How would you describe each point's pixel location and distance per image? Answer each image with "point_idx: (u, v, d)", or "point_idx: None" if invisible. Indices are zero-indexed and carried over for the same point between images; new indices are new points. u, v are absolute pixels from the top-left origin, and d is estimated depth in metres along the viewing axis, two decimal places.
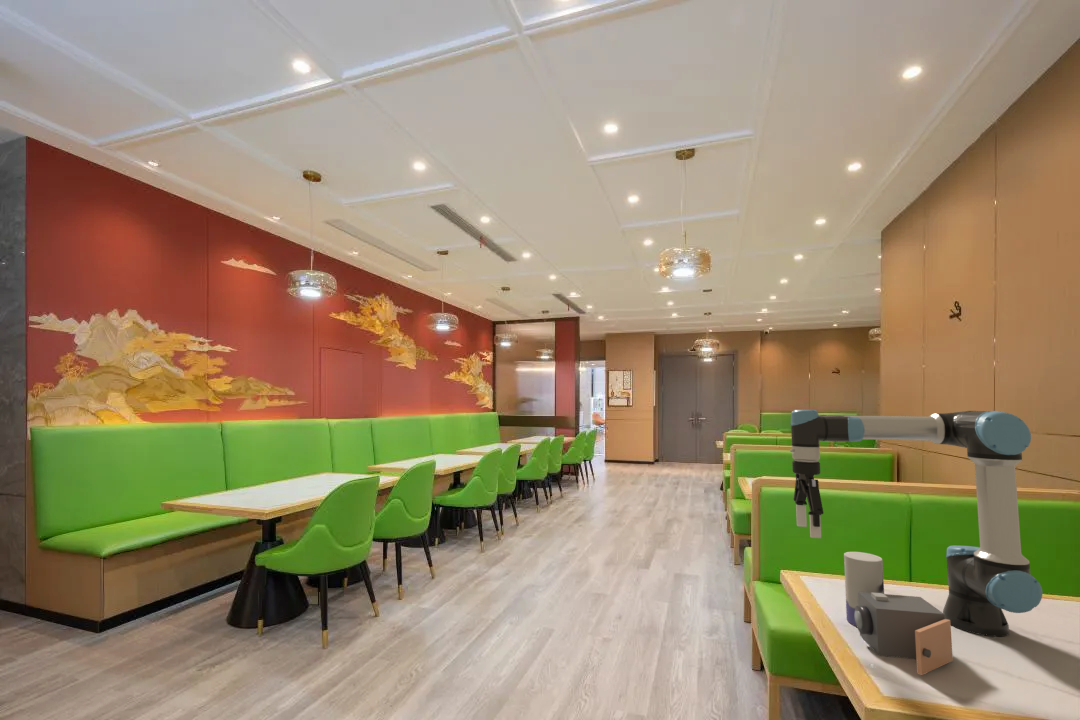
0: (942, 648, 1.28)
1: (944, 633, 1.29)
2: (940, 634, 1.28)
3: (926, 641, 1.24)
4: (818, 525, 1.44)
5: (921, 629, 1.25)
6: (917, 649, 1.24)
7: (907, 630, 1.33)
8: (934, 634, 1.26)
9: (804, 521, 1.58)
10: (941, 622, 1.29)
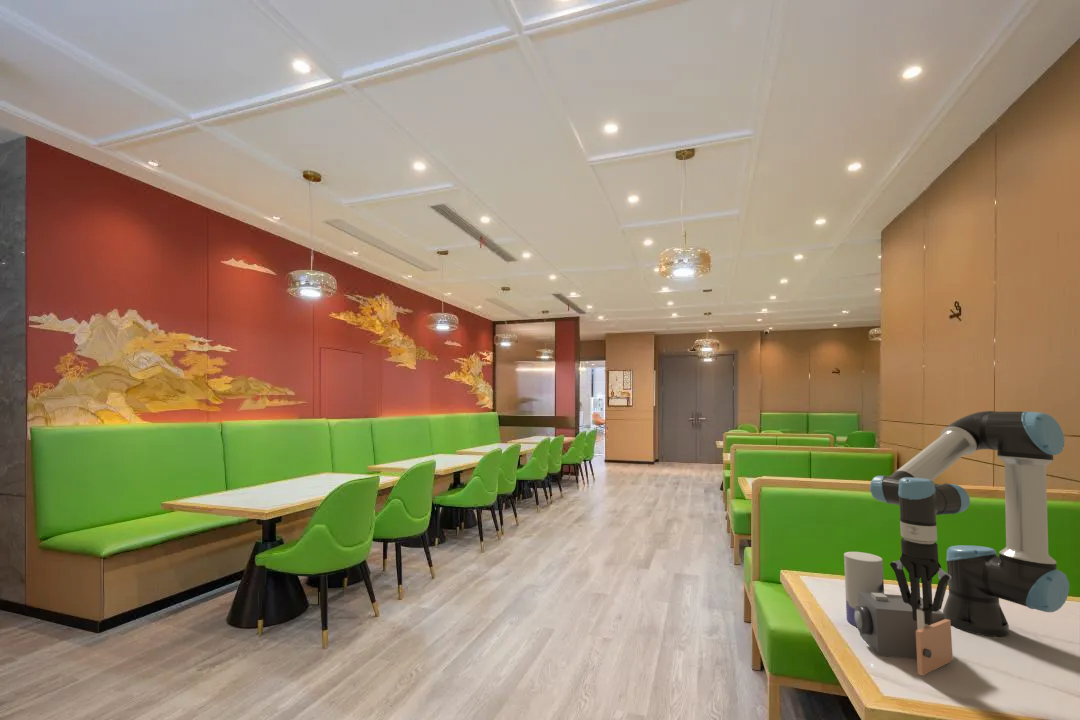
0: (942, 648, 1.28)
1: (944, 633, 1.29)
2: (940, 634, 1.28)
3: (927, 641, 1.24)
4: (931, 622, 1.26)
5: (922, 629, 1.25)
6: (918, 649, 1.23)
7: (907, 630, 1.33)
8: (934, 634, 1.26)
9: None
10: (941, 622, 1.29)
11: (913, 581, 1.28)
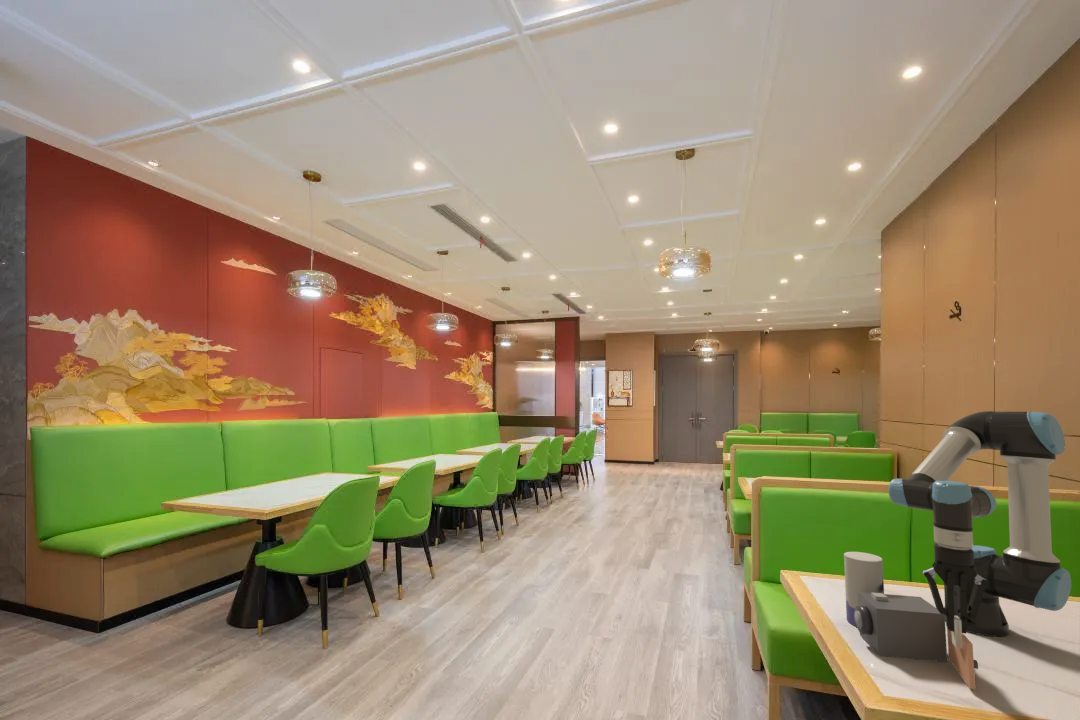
0: None
1: None
2: None
3: None
4: None
5: (966, 639, 1.19)
6: (970, 663, 1.17)
7: (907, 630, 1.33)
8: None
9: None
10: None
11: (951, 590, 1.22)
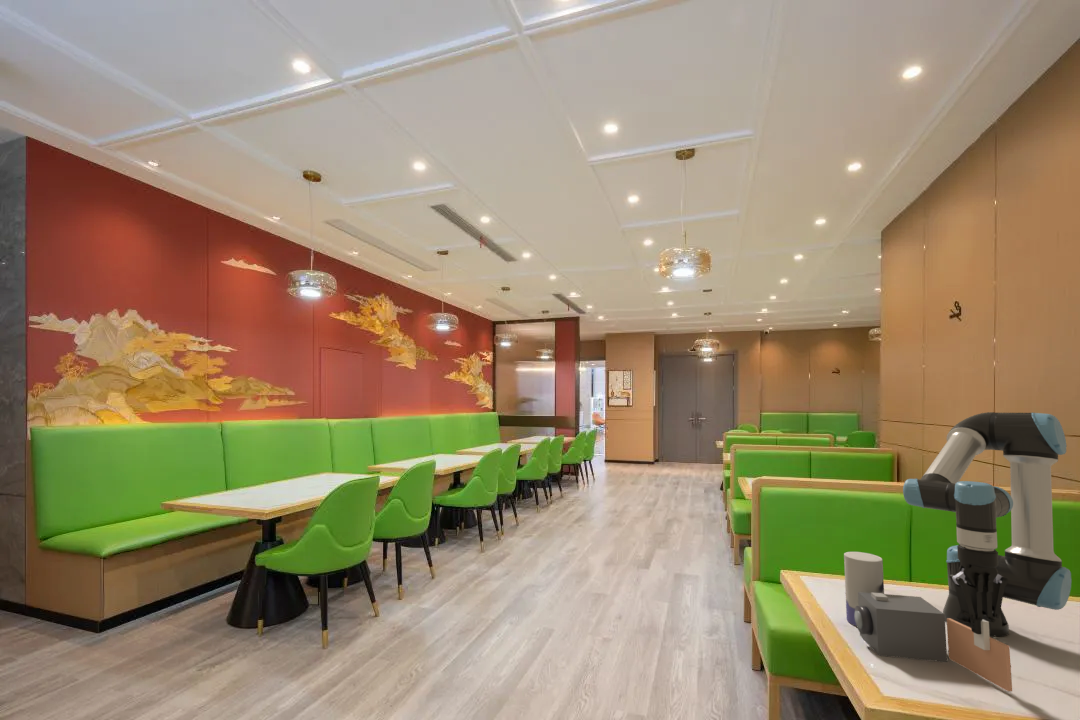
0: None
1: None
2: None
3: None
4: None
5: (997, 641, 1.19)
6: (1008, 665, 1.16)
7: (907, 630, 1.33)
8: None
9: None
10: (962, 624, 1.28)
11: (979, 592, 1.21)
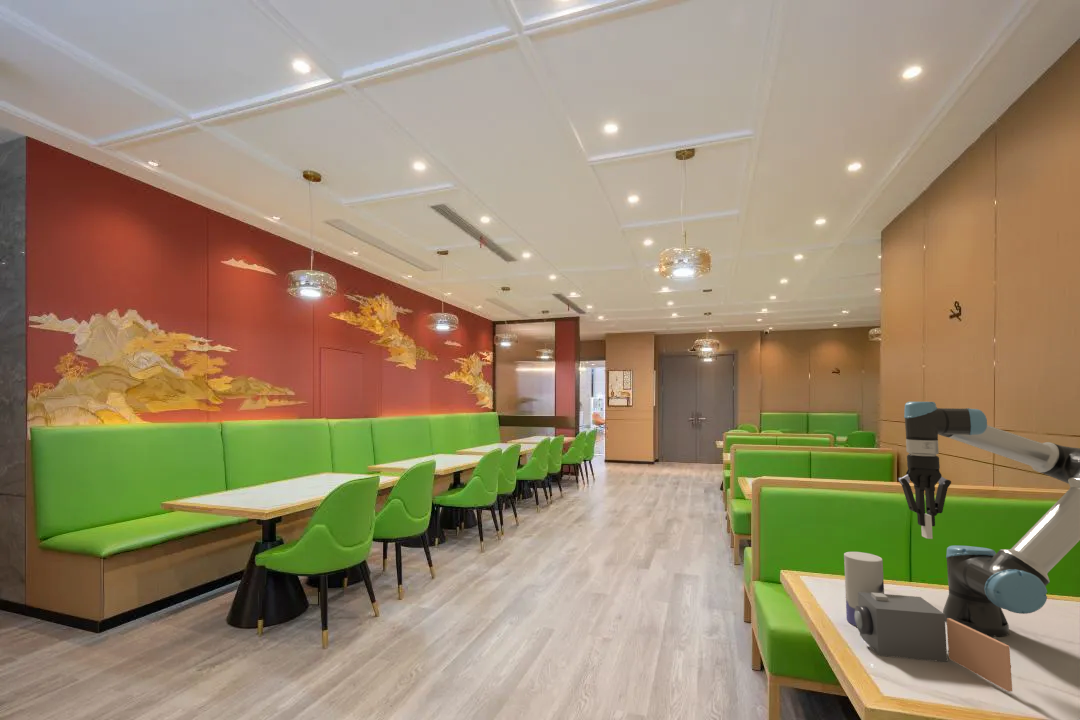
0: None
1: None
2: None
3: None
4: None
5: (997, 641, 1.19)
6: (1008, 665, 1.16)
7: (907, 630, 1.33)
8: None
9: None
10: (962, 624, 1.28)
11: (922, 491, 1.45)
